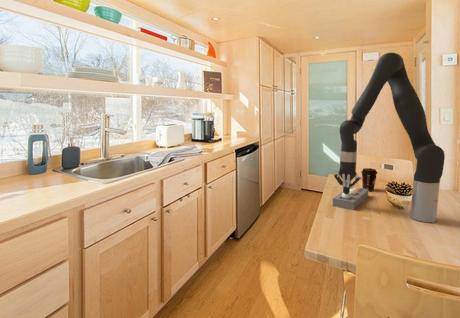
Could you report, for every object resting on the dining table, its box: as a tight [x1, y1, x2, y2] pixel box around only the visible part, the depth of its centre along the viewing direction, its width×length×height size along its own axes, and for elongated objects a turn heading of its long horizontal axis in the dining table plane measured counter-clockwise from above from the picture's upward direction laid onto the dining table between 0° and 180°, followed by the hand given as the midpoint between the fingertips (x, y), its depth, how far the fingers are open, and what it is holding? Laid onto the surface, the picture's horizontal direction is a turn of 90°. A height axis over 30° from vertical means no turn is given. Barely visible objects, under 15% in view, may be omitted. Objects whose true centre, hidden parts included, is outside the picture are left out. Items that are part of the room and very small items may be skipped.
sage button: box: [342, 193, 351, 200], centre depth 136 cm, size 4×4×3 cm
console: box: [332, 186, 369, 211], centre depth 143 cm, size 10×28×4 cm, turn 140°
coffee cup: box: [360, 167, 378, 192], centre depth 162 cm, size 9×8×13 cm
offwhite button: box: [349, 189, 356, 196], centre depth 143 cm, size 4×4×3 cm
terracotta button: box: [352, 186, 362, 192], centre depth 150 cm, size 4×4×3 cm
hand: (346, 193), depth 136 cm, fingers closed
